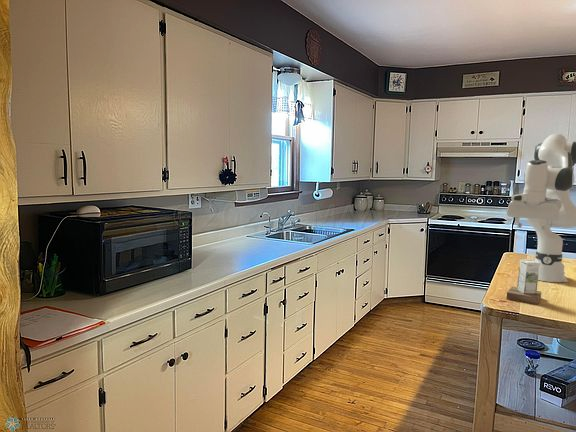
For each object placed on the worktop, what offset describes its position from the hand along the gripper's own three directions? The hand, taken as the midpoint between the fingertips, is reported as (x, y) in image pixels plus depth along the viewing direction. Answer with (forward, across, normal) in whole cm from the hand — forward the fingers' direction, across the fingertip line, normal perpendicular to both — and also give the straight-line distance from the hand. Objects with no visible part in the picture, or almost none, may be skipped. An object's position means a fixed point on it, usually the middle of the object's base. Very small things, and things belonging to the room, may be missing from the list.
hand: (531, 228), depth 190 cm
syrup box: (+28, -1, +3) cm, 29 cm away
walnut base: (+31, 0, +3) cm, 31 cm away
